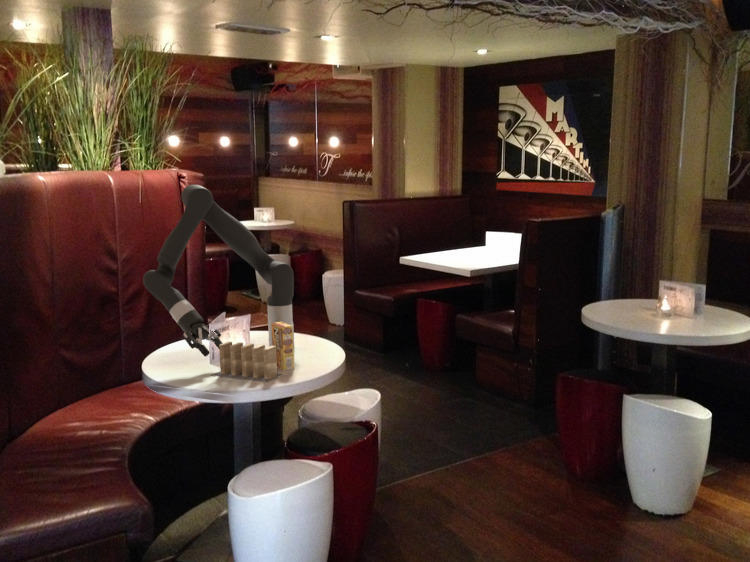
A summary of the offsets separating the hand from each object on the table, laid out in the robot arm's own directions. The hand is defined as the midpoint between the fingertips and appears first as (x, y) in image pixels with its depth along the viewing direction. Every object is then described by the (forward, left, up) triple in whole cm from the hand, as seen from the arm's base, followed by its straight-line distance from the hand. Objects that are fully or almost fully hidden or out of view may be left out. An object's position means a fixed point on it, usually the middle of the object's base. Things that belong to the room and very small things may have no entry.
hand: (215, 351), depth 241 cm
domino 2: (0, +9, -7) cm, 11 cm away
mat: (0, +12, -7) cm, 14 cm away
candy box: (-13, +18, -7) cm, 24 cm away
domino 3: (0, +13, -7) cm, 14 cm away
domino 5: (0, +22, -7) cm, 23 cm away
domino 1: (0, +4, -7) cm, 8 cm away
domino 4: (0, +17, -7) cm, 18 cm away
